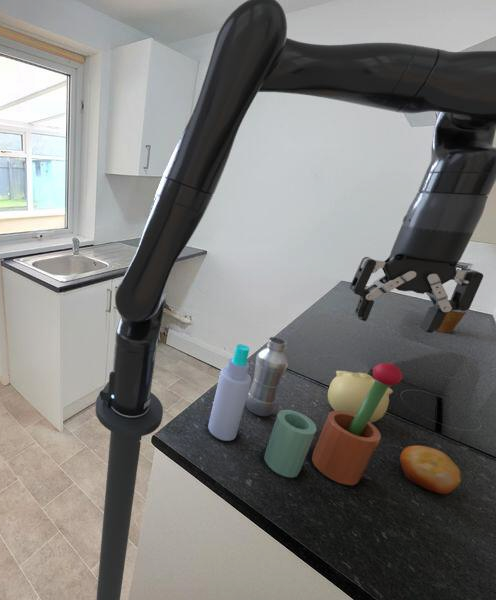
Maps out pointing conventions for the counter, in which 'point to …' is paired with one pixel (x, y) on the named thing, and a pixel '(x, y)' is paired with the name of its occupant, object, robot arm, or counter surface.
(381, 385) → the rose
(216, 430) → the spray bottle
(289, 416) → the celadon vase
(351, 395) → the sculpture
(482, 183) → the robot arm
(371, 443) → the terracotta vase
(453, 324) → the disposable coffee cup
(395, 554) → the counter surface
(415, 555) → the counter surface
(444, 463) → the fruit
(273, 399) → the silver metal bottle
